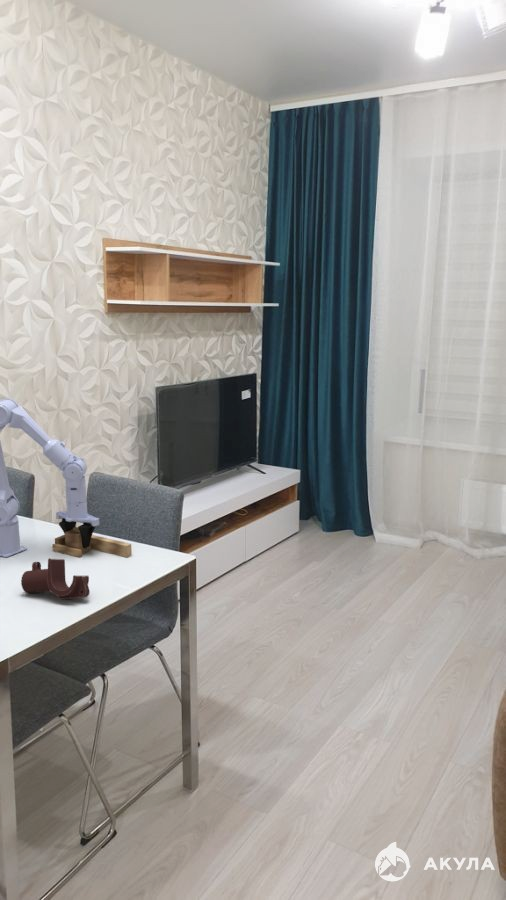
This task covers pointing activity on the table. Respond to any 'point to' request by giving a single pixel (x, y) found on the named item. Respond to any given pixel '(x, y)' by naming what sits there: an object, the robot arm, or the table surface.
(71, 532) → the cabinet
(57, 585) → the bracket
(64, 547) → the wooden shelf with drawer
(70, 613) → the table surface
